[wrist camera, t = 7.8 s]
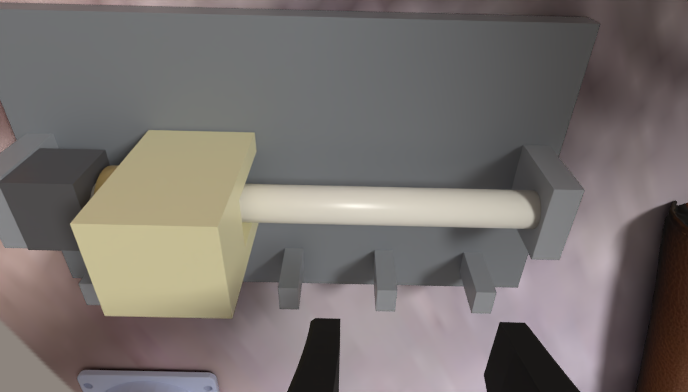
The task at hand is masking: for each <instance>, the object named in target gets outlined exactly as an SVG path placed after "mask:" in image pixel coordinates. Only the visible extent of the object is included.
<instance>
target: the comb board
mask: <svg viewBox="0 0 688 392" xmlns="http://www.w3.org/2000/svg"><path fill="white" fill-rule="evenodd" d="M599 27H600V23H598V22H596V21H594V20H592V19H590V18H588V17H565V16H524V15H484V14H444V13H404V12H363V11H323V10H283V9H243V8H202V7H162V6H122V5H82V4H41V3H1V2H0V100H1V103H2V105H3V107H4V110H5V112H6V115H7V117H8V120H9V122H10V125H11V127H12V130H13V132H14V134H15V137H16V139H17V141H16V142H14V143H13V144H12V145H10V146H9V147H8V148H6V149H5V150H4V151H2V152H1V153H0V239H1V241H2V243H3V245H4V247H5V248H28V250H60V251H62V253H63V255H64V257H65V260H66V262H67V265H68V267H69V270H70V272H71V275H72V277H73V278H82V279H81V281H80V282H79V286H80V289H81V291H82V294H83V296H84V299H85V301H86V304H87V305H100V302H99V299H98V297H97V294H96V292H95V289H94V286H93V284H92V281H91V278H90V276H89V273H88V270H87V268H86V265H85V262H84V260H83V257H82V255H81V252H80V249H79V247H78V244H77V241H76V239H75V236H74V233H73V231H72V228H71V225H70V223H71V222H72V221H73V219H74V218H75V217H76V216H77V215H78V213H79V212H80V211H81V210H82V209H83V207H84V206H85V205H86V204H87V203H88V201H89V200H90V199H91V198H92V197H93V196H94V194H95V193H96V192H97V191H98V190H99V188H100V187H101V186H102V185H103V184H104V182H105V181H106V180H107V179H108V178H109V177H110V175H111V174H112V173H113V172H114V171H115V169H116V168H117V167H118V166H119V165H120V163H121V162H122V161H123V160H124V159H125V158H126V156H127V155H128V154H129V153H130V152H131V150H132V149H133V148H134V147H135V146H136V144H137V143H138V142H139V141H140V140H141V139H142V137H143V136H144V135H145V134H146V133H147V131H148V130H170V131H213V132H255V140H256V154H255V157H254V160H253V163H252V165H251V168H250V171H249V174H248V177H247V180H246V182H245V185H244V188H243V191H242V194H241V196H240V199H239V203H240V211H241V219H242V222H245V223H258V227H257V231H256V234H255V238H254V242H253V245H252V249H251V253H250V256H249V260H248V264H247V267H246V271H245V275H244V278H243V282H279V285H278V294H279V307H280V309H299V304H300V296H301V287H302V283H334V284H374V293H375V308H376V311H395V306H396V298H397V285H425V286H464V289H465V293H466V296H467V299H468V303H469V306H470V310H471V313H489V314H491V311H492V307H493V303H494V300H495V296H496V290H495V287H517V288H518V285H519V282H520V278H521V275H522V272H523V269H524V266H525V262H526V259H527V256H528V253H529V255H530V257H531V259H537V260H559V259H560V257H561V254H562V251H563V248H564V246H565V243H566V240H567V237H568V235H569V232H570V229H571V226H572V224H573V221H574V218H575V215H576V213H577V210H578V207H579V205H580V202H581V199H582V196H583V194H584V191H585V190H584V189H583V187H582V186H581V185H580V184H579V182H578V181H577V180H576V179H575V177H574V176H573V175H572V173H571V172H570V171H569V170H568V168H567V167H566V166H565V165H564V163H563V162H562V161H561V160H560V158H559V154H560V151H561V148H562V145H563V141H564V138H565V135H566V132H567V129H568V125H569V122H570V119H571V116H572V113H573V109H574V106H575V103H576V100H577V97H578V94H579V90H580V87H581V84H582V81H583V78H584V74H585V71H586V68H587V65H588V62H589V58H590V55H591V52H592V49H593V46H594V43H595V39H596V36H597V33H598V30H599Z"/></svg>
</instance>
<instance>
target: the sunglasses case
mask: <svg viewBox="0 0 688 392" xmlns="http://www.w3.org/2000/svg"><path fill="white" fill-rule="evenodd" d="M676 204H677V201H673V202H672V204H671V208H670V210H669V214H668V216H667V217H666V218H665V223H664V227H663V233H662V241H661V246H660V252H659V261H658V270H657V277H656V286H655V292H654V295H653V302H652V310H651V318H650V324H649V327H648V333H647V338H646V342H645V346H644V353H643V358H642V364H641V369H640V374H639V377H638V382H637V387H636V392H688V203H686V204H682V205H679V206H678V205H676Z"/></svg>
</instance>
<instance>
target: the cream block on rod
mask: <svg viewBox="0 0 688 392" xmlns="http://www.w3.org/2000/svg"><path fill="white" fill-rule="evenodd" d="M255 154H256V140H255V132H213V131H170V130H148V131H147V133H146V134H145V135H144V136H143V137H142V139H141V140H140V141H139V142H138V143H137V144H136V146H135V147H134V148H133V149H132V150H131V152H130V153H129V154H128V155H127V156H126V158H125V159H124V160H123V161H122V162H121V163H120V165H119V166H118V167H117V168H116V169H115V171H114V172H113V173H112V174H111V175H110V177H109V178H108V179H107V180H106V181H105V182H104V184H103V185H102V186H101V187H100V188H99V190H98V191H97V192H96V193H95V194H94V196H93V197H92V198H91V199H90V200H89V201H88V203H87V204H86V205H85V206H84V207H83V209H82V210H81V211H80V212H79V213H78V215H77V216H76V217H75V218H74V219H73V221H72V222H71V223H70V225H71V228H72V231H73V233H74V236H75V239H76V241H77V244H78V247H79V249H80V252H81V255H82V257H83V260H84V262H85V265H86V268H87V270H88V273H89V276H90V278H91V281H92V284H93V286H94V289H95V292H96V294H97V297H98V299H99V302H100V305H101V307H102V310H103V313H104V315H105V316H130V317H177V318H224V319H233V315H234V312H235V308H236V304H237V301H238V297H239V293H240V290H241V286H242V282H243V278H244V275H245V271H246V267H247V264H248V260H249V256H250V253H251V249H252V245H253V242H254V238H255V234H256V231H257V227H258V223H245V222H242V219H241V211H240V203H239V199H240V196H241V194H242V191H243V188H244V185H245V182H246V180H247V177H248V174H249V171H250V168H251V165H252V163H253V160H254V157H255Z"/></svg>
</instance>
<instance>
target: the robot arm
mask: <svg viewBox="0 0 688 392" xmlns="http://www.w3.org/2000/svg"><path fill="white" fill-rule="evenodd" d="M339 356H340V319H325V318H315V319H314V320H312V321H311V323H310V328H309V333H308V336H307V340H306V344H305V347H304V350H303V353H302V356H301V359H300V361H299V364H298V367H297V369H296V372H295V374H294V377H293V379H292V381H291V384H290V386H289V389H288V391H287V392H339ZM484 378H485V383H486V389H487V392H580V391H579V390H578V388H577V387H576V386H575V385H574V384H573V382H572V381H571V380H570V379H569V378H568V376H567V375H566V374H565V373H564V371H563V370H562V369H561V368H560V366H559V365H558V364H557V363H556V361H555V360H554V359H553V358H552V356H551V355H550V354H549V353H548V351H547V350H546V349H545V347H544V346H543V345H542V344H541V342H540V341H539V340H538V338H537V337H536V336H535V335H534V333H533V332H532V331H531V329H530V328H529V327H528V326H527V325H526V324H525V323H512V322H500V323H499V327H498V330H497V333H496V336H495V340H494V343H493V346H492V350H491V353H490V356H489V360H488V363H487V366H486V370H485V373H484ZM77 380H78V382H79V384H80V386H81V388H82V390H83V392H220V391H219V386H218V381H217V377H216V376H215V375H214V374H212V373H209V372H168V371H120V370H83V371H81V372H80V373H79V375H78V377H77Z"/></svg>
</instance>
